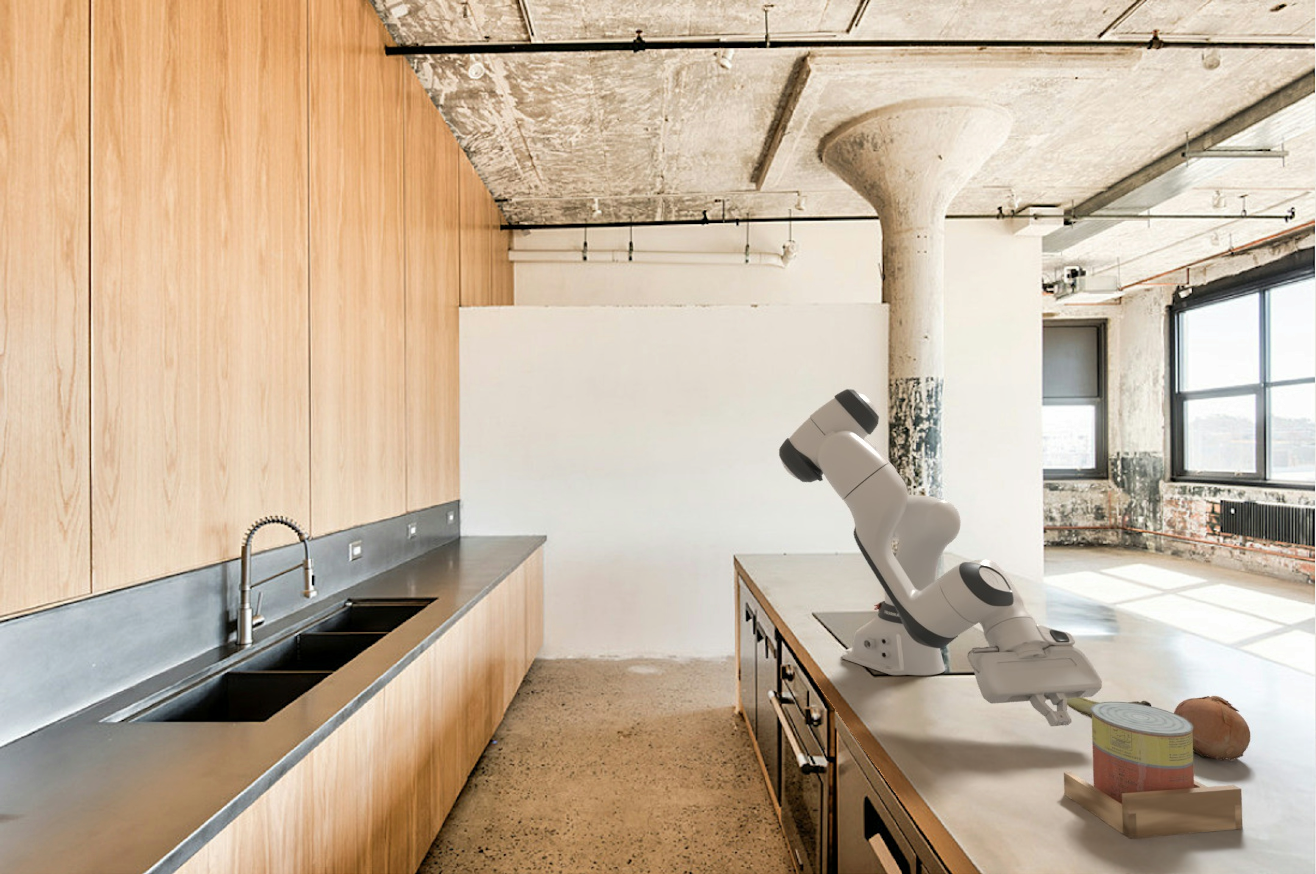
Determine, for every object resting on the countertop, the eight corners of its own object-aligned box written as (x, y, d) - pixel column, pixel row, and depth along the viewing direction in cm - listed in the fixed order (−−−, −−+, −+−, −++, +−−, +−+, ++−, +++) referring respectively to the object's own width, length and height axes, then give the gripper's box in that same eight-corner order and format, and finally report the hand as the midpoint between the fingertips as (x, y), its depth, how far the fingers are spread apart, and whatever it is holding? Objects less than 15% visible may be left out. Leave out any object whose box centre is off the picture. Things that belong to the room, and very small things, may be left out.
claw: (1180, 730, 116) (1179, 710, 116) (1137, 738, 113) (1135, 717, 113) (1079, 694, 134) (1078, 677, 134) (1039, 700, 131) (1038, 682, 131)
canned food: (1158, 786, 95) (1155, 702, 96) (1218, 830, 84) (1215, 734, 84) (1076, 784, 96) (1074, 700, 96) (1125, 827, 85) (1122, 732, 85)
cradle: (1064, 794, 93) (1063, 758, 93) (1165, 786, 95) (1164, 751, 95) (1129, 838, 82) (1128, 797, 82) (1242, 828, 84) (1241, 788, 84)
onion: (1220, 767, 107) (1235, 708, 109) (1256, 778, 98) (1272, 713, 100) (1154, 739, 110) (1170, 681, 112) (1184, 746, 102) (1200, 683, 103)
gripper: (970, 638, 112) (1011, 720, 102) (1079, 633, 115) (1129, 711, 105) (956, 657, 116) (993, 737, 106) (1061, 651, 119) (1107, 728, 109)
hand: (1061, 724), depth 106 cm, fingers closed
